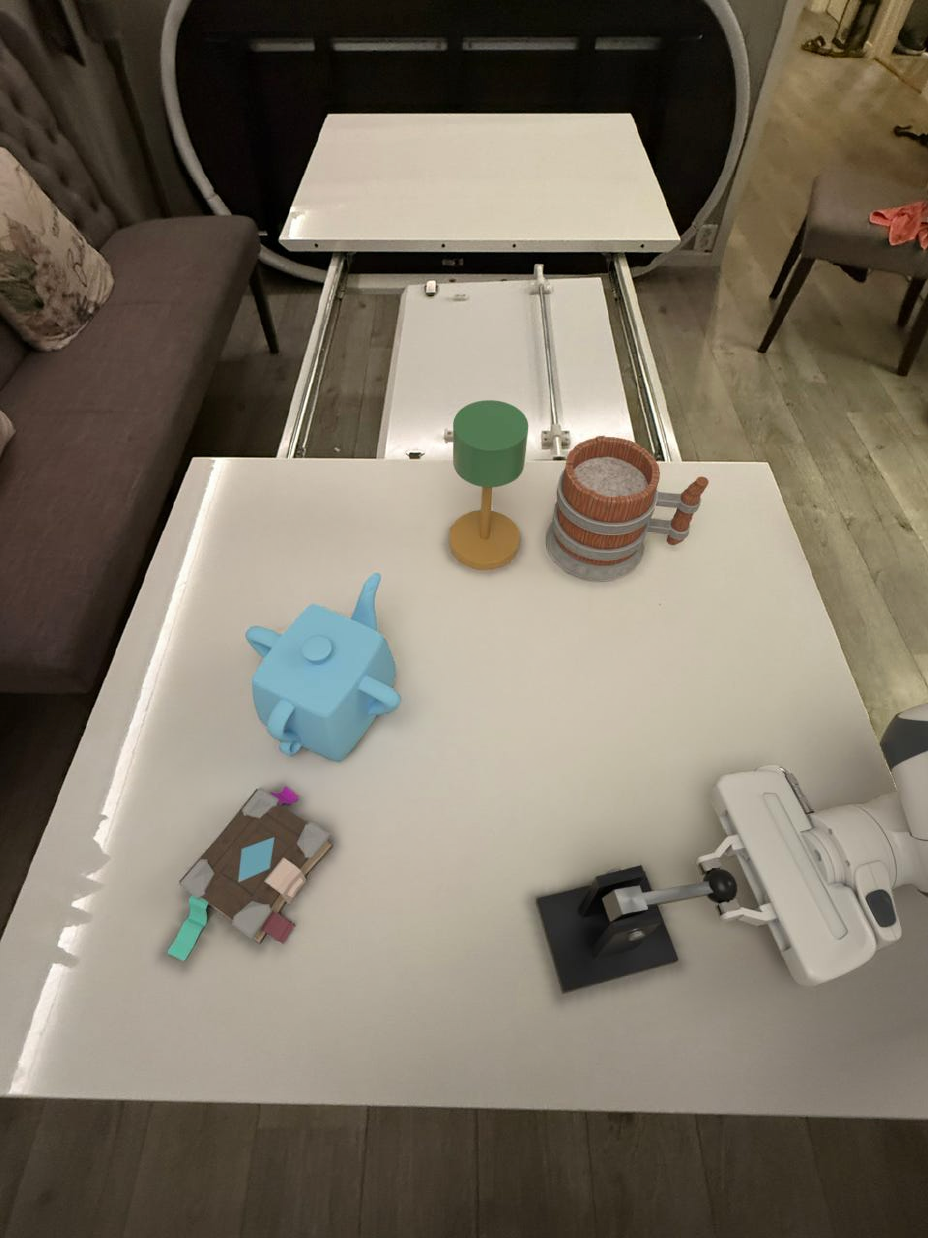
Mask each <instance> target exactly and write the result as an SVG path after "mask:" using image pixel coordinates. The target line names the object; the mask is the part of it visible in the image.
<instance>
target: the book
mask: <svg viewBox="0 0 928 1238" xmlns="http://www.w3.org/2000/svg"><path fill="white" fill-rule="evenodd" d="M299 798H300V796H299V795H298V794H297V793H296V792H294V791H293V790H292V789H290V788H289V787H288V786H287V785H285V786H284V787H283V788H282V790H281V791H280V792H277V793H276V792H273V791H270V792H269V791H267V790H265V789H264V788H262V787H261V786H259V788H256V789H255V790H254V791H253V792H252V794H251V795H250V796H249V797H248V799H247V800H246V802H245V803H243V805H242V807H241V808H240V809H239V810H238V812H237V813H236V814H235V815H234V816H233V818H232V819H231V821H230V822H229V823H228V824H227V825H226V826H225V828H224V829H223V830H222V832H221V833H220V834H219V835H218V836H217V838H216V839H215V840H214V841H213V842H212V843H211V844H210V845H209V847H208V848H207V849H206V850H205V851H204V852H203V853H202V855H200V856H199V858H198V859H197V860H196V861H195V863H194V864H193V865H192V866H191V867H190V868H189V870H188V871H187V872H186V873H185V874H184V875H183V876H182V877H181V878H180V880H179V881H178V886H179V887H181V888H182V889H184V890H185V891H186V892H188V894H190V897H189V899H188V906H189V915H188V917H187V918H186V919H185V920H184V921H183V923H182V926H180V927H181V928H180V929H179V931H178V933H177V935H176V938H175V939H174V941H173V942H172V944H171V946H170V947H169V949H168V950H167V952H166V954H168V955H170V956H172V957H174V958H176V959H178V960H180V961H183V962H185V961H186V959H187V958H188V956H189V954H191V951H192V950H193V948H194V946H195V944H196V942H197V939H198V938H199V936H200V934H201V932H202V930H203V929H204V927H206V925H207V923H208V913H207V907H208V906H209V907H211V908H212V909H214V910H215V911H216V912H218V913H220V914H221V915H222V916H224V917H226V918H227V919H228V920H229V921H231V925H232V926H233V927H234V928H236V929H237V930H238V931H239V932H241V933H242V934H244V936H246V937H247V938H249V939H250V940H251V941H253V940H254V941H255V942H256V943H258V944H259V945H261V944H262V943H263V941H264V939H265V937H266V936H267V935H268V936H269V937H271V938H272V939H274V940H275V941H277V942H279V943H280V944H282V945H284V943H285V942H286V941H287V939H288V937H289V935H291V934H290V933H291V932H292V931H293V928H294V927H295V926H296V924H295V923H293V922H291V921H289V920H287V919H286V918H284V917H283V916H282V915H281V914H280V913H281V911H282V910H283V908H284V907H285V905H286V904H288V905H290V904H291V903H292V901H293V899H295V897H296V895H297V893H298V891H299V890H300V889H301V888H303V886H304V885H305V884H306V883H307V882H308V880H307V878H306V877H307V876H308V875H309V874H310V873H311V872H312V870H313V869H314V868H315V867H316V866H317V865H318V864H319V862H321V861H322V859H323V858H324V857H325V856H326V855H327V854H328V853H329V851H331V849H332V848H333V844H332V843H330V842H329V841H328V840H329V839H330V838H331V837H332V834H331V833H330V832H329V831H327V830H326V829H324V828H323V827H321V826H320V825H318V824H317V823H315V822H314V821H312V820H311V821H309V822H308V821H306V820H304V819H303V818H302V817H299V816H298V815H296V814H295V813H293V812H292V811H290V810H289V809H287V808H286V807H285V806H283V804H287V805H294V803H296V801H297V799H299Z"/></svg>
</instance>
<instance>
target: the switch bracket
mask: <svg viewBox="0 0 928 1238" xmlns="http://www.w3.org/2000/svg"><path fill="white" fill-rule="evenodd" d="M637 885H639V886H640V888H641V891H642V893H645V892H650V891H653V889H652V887H651V884H650V881H649V879H648V876H647V874H646V871H645V870H644V869H643V865H642V864H639V865H636V866H631V867H627V868H624V869H621V868H619V867H618V868H612V869H610V870H608V871H607V872H606V873H604V874H600V875H596V876H595V877H594V879H593V880H592V882H591V884H588V885H584V886H580V887H576V888H573V889H568V890H565V891H561V892H557V893H553V894H549V895H545V896H541V897H537V898H536V900H535V905H536V909H537V912H538V916H539V919H540V922H541V925H542V929H543V933H544V935H545V938H546V939H545V940H546V942H547V946H548V950H549V952H550V956H551V960H552V963H553V967H554V970H555V974H556V977H557V981H558V984H559V988H560V990H561V994H563V995H565V994H568V993H572V992H576V991H579V990H582V989H586V988H589V987H593V986H597V985H601V984H604V983H608V982H611V981H615V980H619V979H622V978H626V977H629V976H632V975H633V976H634V975H636V974H640V973H643V972H647V971H651V970H654V969H657V968H662V967H665V966H668V965H672V964H675V963H677V962H678V961H679V957H678V955H677V951H676V949H675V947H674V944H673V942H672V939H671V936H670V934H669V931H668V929H667V926H666V923H665V920H664V918H663V916H662V913H661V911H660V908H659V905H656V906H651V907H648V910H647V911H645V912H644V913H642V914H641V915H637V916H633V917H630V918H626V919H622V920H618V921H615V922H610V920H609V918H608V915H607V912H606V909H605V906H604V903H603V900H602V898H603V897H604V896H606V895H607V894H609V893H610V892H611V891H613V890H614V889H620V888H626V887H631V886H637Z"/></svg>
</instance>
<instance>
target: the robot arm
mask: <svg viewBox="0 0 928 1238" xmlns="http://www.w3.org/2000/svg"><path fill="white" fill-rule="evenodd" d="M878 744H879V746H880V747H879V748H880V750H881V752H882V754H883V756H884V757H883V758H884V759H885V762H886V765H887V766H888V770H889V771H890V772H891V774H892V776H893V781H894V783H895V786H896V788H897V789H896V791H893V792H892V791H891V792H888V793H884V794H881V795H878V796H876V797H875V798H873V799H872V800H870V801H868V802H865V803H857V802H855V803H853V802H852V803H845V804H842V805H838V806H834V807H830V808H827V809H821V810H819V811H814V808H813V807H812V804H811V803H810V801H809V800H808V798H807V797H806V795H805V794H804V792H803V791H802V788H801V787H800V783H799V781H798V779H797V778H796V776H795V775H794V774H793V773H789V772H788V771H787V770H786V769H785V768H784V767H783V766H781V765H779V764H776V763H775V764H773V763H771V764H768V765H763V766H759V767H756V768H755V769H754V770H749V771H739V772H733V773H727V774H723V775H721V776H719V777H718V778H717V779H716V780H715V781H714V783H713V784H712V786H711V788H710V790H709V792H708V798H709V801H710V803H711V805H712V808H713V809H714V811H715V813H716V816H717V818H718V819H719V822H720V824H721V826H722V829H723V831H724V833H725V836H726V837H725V839H724V840H723V841H722V842H721V843H719V845H718V846H717V847H716V848H715V849H714V851H713V852H711V853H707V854H703V855H701V856H699V857H697V858H696V859H695V860H694V862H695V864H696V867H697V869H698V872H699V874H700V876H703V877H704V876H705V875H706V873H707V872H709V871H710V870H712V869H722V867H723V865H722V863H721V861H720V858H722V856H723V854H725V856H726V857H732V856H735V857H736V859H737V861H738V863H739V865H740V868H741V871H742V872H743V875H744V876H745V879H746V881H747V883H748V885H749V887H750V889H751V891H752V893H753V895H754V898H755V900H756V903H757V904H758V906H757V907H756V908H755V909H754V910H753V909H750V908H746V907H741V905H740V904H739V902H738V899H737V898H734V899H733V900H730V901H729V902H722V903H720V904H718V903H717V905H715V906H714V908H715V911H716V913H717V915H718V918H719V921H720V922H721V923H725V922H726V923H727V922H730V921H733V920H737V921H740V922H743V923H746V924H750V925H753V926H756V927H760V926H763V925H767V926H768V928H769V931H770V932H771V934H772V937H773V938H774V941H775V943H776V946H777V947H778V949H779V951H780V954H781V956H782V958H783V960H784V963H785V965H786V967H787V969H788V971H789V973H790V976H791V978H792V979H793V982H795V983H796V984H797V985H799V986H801V987H804V988H806V989H811V988H814V987H817V986H819V985H822V984H825V983H828V982H830V981H833V980H835V979H837V978H840V977H842V976H845V975H846V974H848V973H850V972H852V971H854V970H856V969H857V968H860V967H861V966H864V964H866V963H867V962H869V961H870V960H871V959H872V958H873V957H874V954H875V953H876V952H878V951H882V950H884V949H885V948H887V947H890V946H892V945H893V944H895V943H896V942H897V941H899V939H901V937H902V934H903V933H902V932H903V931H902V926H901V922H900V918H899V915H898V911H897V907H896V903H895V899H894V894H893V891H894V890H895V889H896V888H898V887H900V886H904V885H910V886H911V885H912V886H914V887H916V888H917V892H919V893H920V894H922V895H923V896H925V897H927V898H928V702H926V703H922V704H918V705H914V706H912V707H910V708H907V709H905V710H902V711H899V712H898V713H896V714H895V715H894V717H892V719H891V721H890V722H889V724H888V725H887V727H886V728H885V731H884V733H883V734H882V736H881V739H880V741H879V743H878Z"/></svg>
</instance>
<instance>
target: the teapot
mask: <svg viewBox="0 0 928 1238" xmlns="http://www.w3.org/2000/svg"><path fill="white" fill-rule="evenodd" d="M381 581H382V575H381V573H379V572H375V573H373V574H371V575H370V576H369V577H368V578H367V579H366V580H365V582H364V584H363V586H362V588H361V590H360V594H359V596H358V599H357V602H356V604H355V607H354V610H353V612H352V615H351V617H348V616H345V615H343V614H341V613H338V612H336V611H334V610H331V609H329V608H326V607H324V606H322V605H319V604H316V603H312V604H309V606H307V607H306V608H305V609H304V610H303V611H302V612H301V613H300V614H299V615H298V616H297V617H296V619H294V621H293V622H292V623H291V624H290V625H289V626H288V627H287V629H286V630H285V631H284V632H283V633H282V634H280V633H278V632H277V631H274V630H271V629H269V628H266V627H263V626H259V625H253V626H250V627H249V628H247V630H246V631H245V639H246V641H247V642H248V644H249V645H250V646H251V648H252V649H254V651H255V652H257V654H258V655H259V656H261V657H262V658H263V659H262V661H261V663H260V664H259V665H258V667H257V669H256V670H255V672H254V674H253V676H252V679H251V687H252V689H251V690H252V698H253V704H254V708H255V711H256V714H257V717H258V719H259V721H260V722H261V723H262V724H264V725H265V726H266V729H267V732H268V734H269V735H270V737H272V738H273V739H274V740H276V741H278V742H279V741H280V743H279V746H278V747H279V751H281V753H282V754H284V755H285V756H294V755H295V754H297V753H298V752H299V751H300V750H301V748H302V747H303V748H305V749H307V750H308V751H310V752H312V753H314V754H316V755H319V756H321V757H324V758H325V759H328V760H331V761H333V762H338V763H339V762H341V761H343V760H344V759H345V758H346V757H347V756H348V755H349V754H350V752H351V751H352V750H353V749H354V748H355V747H356V745H357V744H358V743H359V741H360V740H361V739H362V737H363V736H364V735H365V734H366V732H367V731H368V730H369V728H370V727H371V725H372V724H373V723H374V721H375V719H376V718H377V716H379V715H388V714H391V713H393V712H395V711H396V710H398V708H399V707H400V705H401V703H402V698H401V695H400V694H399V692H398V691H397V690H396V689H394V688H393V685H394V683H395V680H396V676H397V668H396V663H395V658H394V655H393V652H392V650H391V648H390V646H389V643H388V642H387V640H386V637H385V636H384V634H382V633H381V632H379V631H378V628H379V627H378V619H377V618H378V617H377V613H376V605H375V603H376V595H377V590H378V588H379V586H380V583H381Z"/></svg>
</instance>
